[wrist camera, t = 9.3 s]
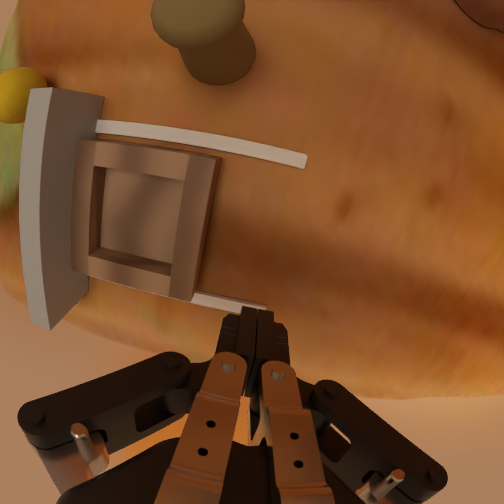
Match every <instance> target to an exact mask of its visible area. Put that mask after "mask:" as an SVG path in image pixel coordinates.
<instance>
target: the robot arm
mask: <svg viewBox="0 0 504 504" xmlns="http://www.w3.org/2000/svg"><path fill="white" fill-rule="evenodd" d="M455 1H456V2H457V4H458V5H459V6H460V7H461V8H462V9H463V11H464V12H465V13H466V14H467V15H469V16H470V17H471V18H472V19H473V20H474V21H476V22H477V23H479V24H480V25H482V26H484V27H487V28H490V29H498V30H500V31H501V32H503V33H504V0H455ZM244 390H245V394H244ZM243 394H244V396H245V397H250V404H249V407H248V410H247V420H248V421H247V424H248V446H246V445H243V444H240V443H237V442H235V441H232V440H233V435H234V431H235V425H236V421H237V417H238V412H239V407H240V398H241V396H243ZM187 413H189V415H188V418H187V421H186V424H185V426H184V429H183V432H182V434H181V437H179V438H172V439H168V440H164V441H162V442H159V443H158V444H155V445H154V446H152V447H150V448H148V449H147V450H145V451H143V452H142V453H140V454H138V455H136V456H134V457H132V458H131V459H129V460H127V461H125V462H123V463H121V464H120V465H118V466H116V467H114V468H112V469H110V470H108V471H106V472H104V473H102V474H100V475H98V474H99V473H100V472H102V471H103V470H105V469H106V468H107V466H108V464H109V455H110V454H112V453H114V452H116V451H118V450H120V449H122V448H124V447H126V446H129V445H131V444H133V443H135V442H137V441H139V440H141V439H143V438H145V437H147V436H149V435H151V434H153V433H155V432H156V431H158V430H160V429H162V428H164V427H166V426H167V425H170V424H171V423H173V422H175V421H177V420H179V419H180V418H182V417H183V416H184V415H185V414H187ZM18 423H19V425H20V427H21V428H22V430H23V432H24V433H25V435H26V438H27V440H28V442H29V443H30V445H31V446H32V448H33V449H34V451H35V452H36V454H37V455H38V456H39V457H40V459H41V460H42V461H43V463H44V465H45V467H46V469H47V471H48V473H49V475H50V476H51V478H52V480H53V482H54V483H55V485H56V487H57V489H58V490H59V492H60V493H61V496H60V498H59V499H58V501H57V503H56V504H423V503H424V502H425V501H427V500H428V499H430V498H431V497H432V496H434V495H435V494H436V493H438V492H439V491H440V490H442V489H443V488H444V487H445V486H446V484H447V480H448V476H447V472H446V470H445V469H444V468H443V466H441V465H440V464H439V463H438V462H436V461H435V460H434V459H432V458H431V457H430V456H428V455H427V454H426V453H424V452H423V451H422V450H421V449H419V448H418V447H417V446H415V445H414V444H413V443H412V442H410V441H409V440H408V439H407V438H405V437H404V436H403V435H402V434H400V433H399V432H398V431H397V430H395V429H394V428H393V427H391V426H390V425H389V424H387V422H385V421H384V420H383V419H382V418H380V417H379V416H378V415H377V414H376V413H374V412H373V411H372V410H370V409H369V408H368V407H367V406H366V405H364V404H363V403H362V402H361V401H360V400H358V399H357V398H356V397H355V396H354V395H353V394H351V393H350V392H349V391H348V390H347V389H346V388H344V387H343V386H342V385H341V384H339V383H338V382H335V381H332V380H321V381H319V382H317V383H316V384H315V385H312V384H310V383H307V382H305V381H302V380H300V379H299V378H297V377H296V373H295V371H294V369H293V368H292V367H291V366H290V357H289V346H288V334H287V330H286V328H285V327H284V325H283V324H281V323H275V322H274V312H273V311H268V310H262V309H258V311H257V308H252V307H247V306H242V308H241V312H240V316H239V315H234V314H228V315H227V316H226V317H225V318H223V322H222V326H221V330H220V335H219V339H218V343H217V348H216V352H215V355H214V356H213V357H212V359H210V360H209V361H206V362H202V363H190V361H189V359H188V358H187V357H186V356H184V355H182V354H180V353H177V352H164V353H161V354H158V355H156V356H153V357H151V358H148V359H146V360H144V361H141V362H138V363H136V364H133V365H131V366H128V367H126V368H123V369H120V370H118V371H115V372H113V373H110V374H107V375H105V376H102V377H99V378H97V379H94V380H91V381H88V382H86V383H83V384H80V385H77V386H75V387H71V388H69V389H66V390H63V391H60V392H57V393H54V394H51V395H48V396H45V397H42V398H39V399H36V400H33V401H30V402H27V403H25V404H24V405H23V406H22V407H21V408H20V410H19V412H18ZM331 423H332V424H333V425H335V426H336V427H337V428H338V429H339V430H340V431H341V432H342V433H343V434H344V435H345V436H347V437H348V438H349V440H350V442H351V444H350V443H349V442H348V441H347V440H345V439H344V438H343V437H342V436H341V435H340V434H339V433H338V432H336V431H335V430H334V429H333V428H332V427H331V426H330V424H331ZM97 475H98V476H97Z"/></svg>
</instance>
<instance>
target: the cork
mask: <svg viewBox="0 0 504 504" xmlns="http://www.w3.org/2000/svg"><path fill="white" fill-rule="evenodd" d="M244 11H245V2H244V0H155V1H154V2H153V5H152V10H151V18H152V23H153V27H154V30H155V31H156V32H157V34H158V35H159V37H160V38H161V39H162V40H164V41H165V42H167V43H168V44H170V45H171V46H173V47H176V48H178V49H179V51H180V54H181V56H182V58H183V61H184V63H185V65H186V68H187V69H188V71H189V72H190V73H191V75H192V76H193V77H195V78H196V79H197V80H199V81H200V82H203V83H206V84H209V85H224V84H228V83H232V82H234V81H236V80H238V79H240V78H241V77H243V76H244V75H245V74H246V73H247V72H248V71H249V70H250V69H251V67H252V64H253V62H254V60H255V53H256V49H255V45H254V41H253V39H252V37H251V36H250V34H249V32H248V30H247V29H246V27H245V25H244V23H243V22H242V20H243V18H244Z"/></svg>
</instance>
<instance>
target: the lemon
mask: <svg viewBox="0 0 504 504" xmlns="http://www.w3.org/2000/svg"><path fill="white" fill-rule="evenodd" d="M35 88H47V82H46V80H45V78H44V77H43V75H42V74H41V73H40V72H38V71H37V70H35V69H32V68H29V67H16V68H12V69H9V70H6V71H4V72H3V73H1V74H0V121H1V122H4V123H9V124H13V123H21V122H24V121H25V118H26V112H27V106H28V100H29V95H30V90H31V89H35Z"/></svg>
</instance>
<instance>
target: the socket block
mask: <svg viewBox="0 0 504 504" xmlns="http://www.w3.org/2000/svg"><path fill="white" fill-rule="evenodd" d="M220 161H221V157H216V156H211V155H206V154H200V153H195V152H189V151H183V150H177V149H171V148H164V147H158V146H151V145H144V144H136V143H129V142H121V141H112V140H103V139H82V140H78V143H77V150H76V159H75V168H74V179H73V193H72V214H71V263H72V270H73V271H76V272H79V273H82V274H86V275H89V276H93V277H96V278H99V279H103V280H106V281H110V282H113V283H117V284H121V285H124V286H128V287H132V288H135V289H139V290H143V291H147V292H151V293H155V294H158V295H162V296H166V297H171V298H175V299H179V300H183V301H187V302H191V300H192V298H193V296H194V293H195V291H196V289H197V286H198V279H199V273H200V267H201V261H202V255H203V249H204V244H205V238H206V232H207V227H208V222H209V216H210V211H211V206H212V200H213V195H214V190H215V185H216V180H217V175H218V170H219V166H220Z"/></svg>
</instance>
